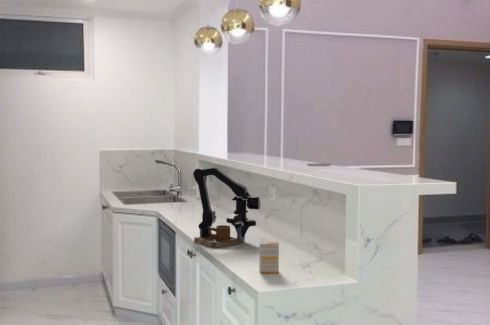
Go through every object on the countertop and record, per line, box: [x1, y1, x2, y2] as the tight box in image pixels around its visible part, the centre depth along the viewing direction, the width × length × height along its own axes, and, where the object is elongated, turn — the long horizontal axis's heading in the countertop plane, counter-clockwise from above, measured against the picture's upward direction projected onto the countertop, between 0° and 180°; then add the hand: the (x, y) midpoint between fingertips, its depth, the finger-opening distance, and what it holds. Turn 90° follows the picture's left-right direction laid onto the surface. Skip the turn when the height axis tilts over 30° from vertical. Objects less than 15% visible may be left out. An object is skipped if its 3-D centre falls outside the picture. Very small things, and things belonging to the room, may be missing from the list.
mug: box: [208, 225, 231, 242], centre depth 297 cm, size 12×8×9 cm, turn 109°
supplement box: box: [258, 240, 280, 274], centre depth 243 cm, size 8×5×13 cm, turn 92°
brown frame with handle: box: [193, 227, 246, 248], centre depth 302 cm, size 18×24×7 cm
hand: (240, 237), depth 306 cm, fingers open, 3 cm apart
